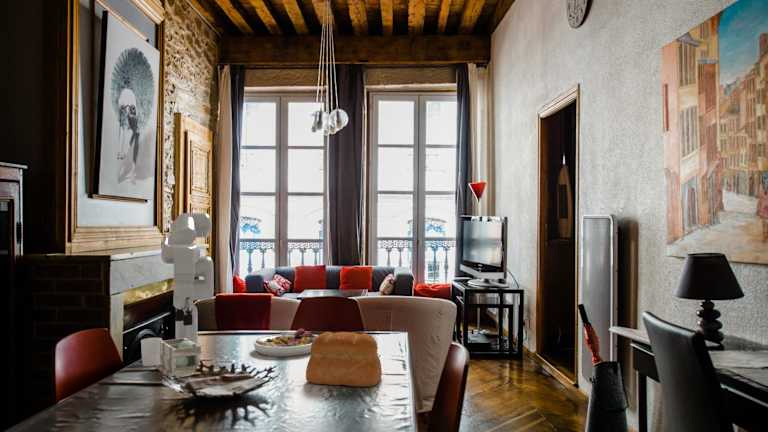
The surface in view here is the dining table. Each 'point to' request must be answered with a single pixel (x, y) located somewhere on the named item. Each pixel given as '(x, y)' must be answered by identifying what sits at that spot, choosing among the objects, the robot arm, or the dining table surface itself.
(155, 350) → the white cup
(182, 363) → the sage ball
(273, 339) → the bowl
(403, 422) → the dining table surface
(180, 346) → the sage ball
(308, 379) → the bread
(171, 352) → the grey divided rectangular box
